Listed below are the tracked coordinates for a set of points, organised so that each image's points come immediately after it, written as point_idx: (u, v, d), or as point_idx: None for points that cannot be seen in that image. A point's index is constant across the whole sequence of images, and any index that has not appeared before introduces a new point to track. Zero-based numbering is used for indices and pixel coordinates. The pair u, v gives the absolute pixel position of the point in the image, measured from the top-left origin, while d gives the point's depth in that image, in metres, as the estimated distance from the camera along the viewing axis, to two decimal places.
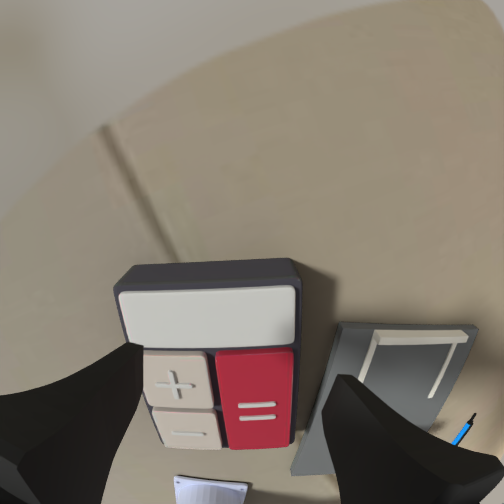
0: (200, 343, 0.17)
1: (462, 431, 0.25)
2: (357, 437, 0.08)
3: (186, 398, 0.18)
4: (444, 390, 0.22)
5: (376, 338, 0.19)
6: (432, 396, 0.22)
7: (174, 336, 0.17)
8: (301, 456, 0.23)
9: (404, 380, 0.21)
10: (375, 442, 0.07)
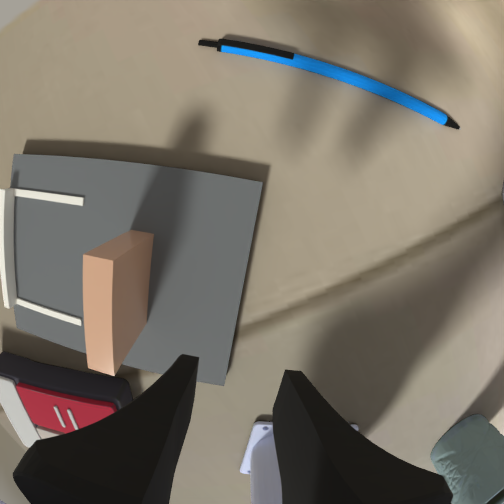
0: (30, 425, 0.19)
1: (242, 53, 0.15)
2: (296, 438, 0.07)
3: None
4: (80, 173, 0.16)
5: (11, 305, 0.18)
6: (82, 197, 0.16)
7: (33, 434, 0.19)
8: None
9: (53, 257, 0.17)
10: (308, 445, 0.06)
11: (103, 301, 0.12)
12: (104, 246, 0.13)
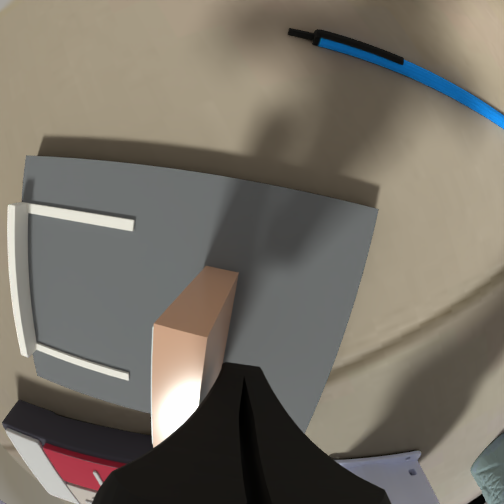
0: (59, 481, 0.15)
1: (344, 50, 0.12)
2: (244, 434, 0.07)
3: None
4: (127, 185, 0.13)
5: None
6: (132, 219, 0.13)
7: (61, 487, 0.16)
8: None
9: (88, 297, 0.14)
10: (250, 441, 0.06)
11: (186, 388, 0.08)
12: (181, 302, 0.09)
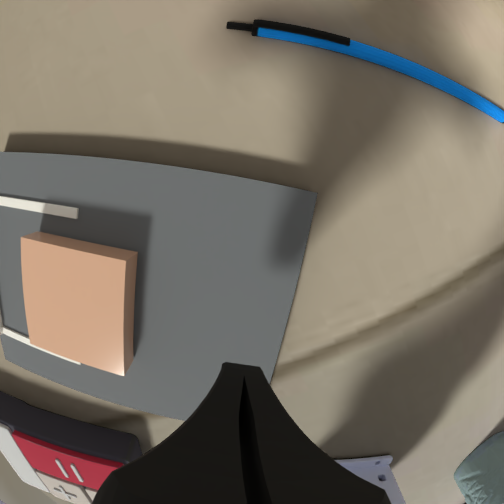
0: (29, 468, 0.15)
1: (285, 37, 0.12)
2: (245, 434, 0.07)
3: (75, 493, 0.16)
4: (72, 176, 0.12)
5: None
6: (76, 207, 0.12)
7: (32, 474, 0.15)
8: None
9: None
10: (250, 441, 0.06)
11: None
12: (58, 237, 0.12)
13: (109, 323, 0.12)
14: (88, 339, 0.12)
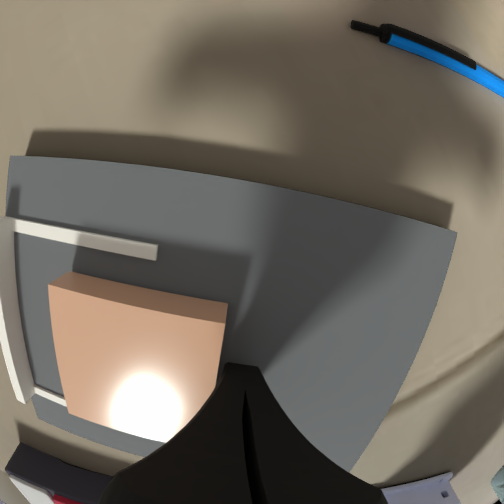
0: None
1: (417, 51, 0.09)
2: (242, 434, 0.07)
3: None
4: (147, 197, 0.09)
5: None
6: (154, 243, 0.10)
7: None
8: None
9: None
10: (248, 441, 0.06)
11: None
12: (104, 282, 0.09)
13: (192, 398, 0.09)
14: (158, 414, 0.09)
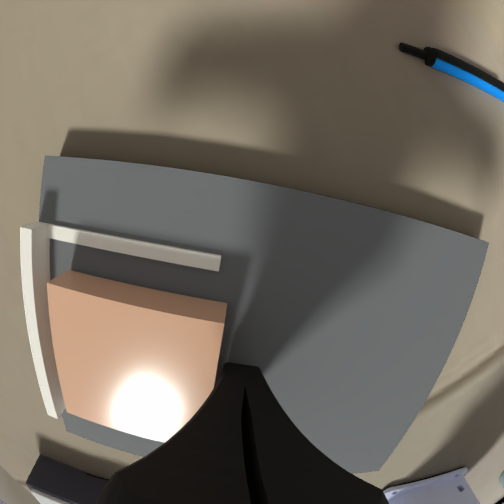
0: None
1: (456, 74, 0.09)
2: (243, 434, 0.07)
3: None
4: (211, 206, 0.09)
5: None
6: (218, 254, 0.10)
7: None
8: None
9: None
10: (248, 441, 0.06)
11: None
12: (103, 281, 0.09)
13: (191, 398, 0.09)
14: (156, 414, 0.09)
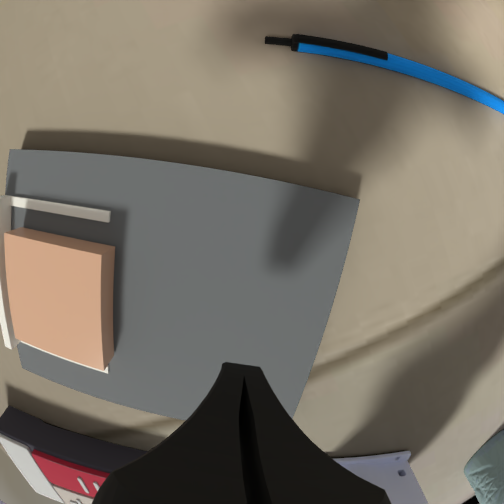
0: (46, 482, 0.15)
1: (325, 53, 0.12)
2: (244, 434, 0.07)
3: None
4: (104, 177, 0.12)
5: None
6: (108, 210, 0.12)
7: (48, 487, 0.16)
8: None
9: None
10: (250, 441, 0.06)
11: None
12: (40, 232, 0.12)
13: (87, 317, 0.12)
14: (68, 333, 0.12)
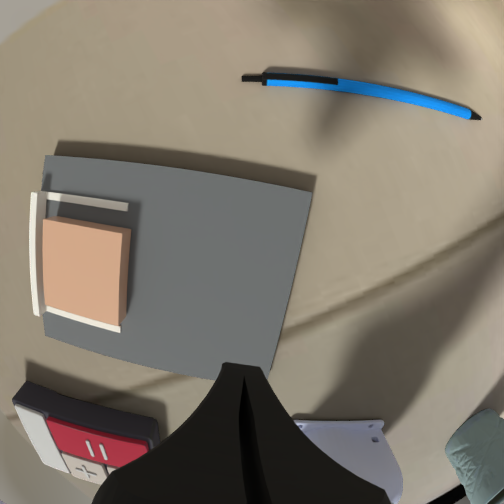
0: (55, 450, 0.20)
1: (288, 84, 0.16)
2: (244, 434, 0.07)
3: (96, 472, 0.21)
4: (123, 178, 0.17)
5: None
6: (126, 202, 0.17)
7: (56, 457, 0.21)
8: (215, 378, 0.20)
9: None
10: (250, 441, 0.06)
11: None
12: (72, 219, 0.17)
13: (108, 282, 0.17)
14: (92, 296, 0.17)
